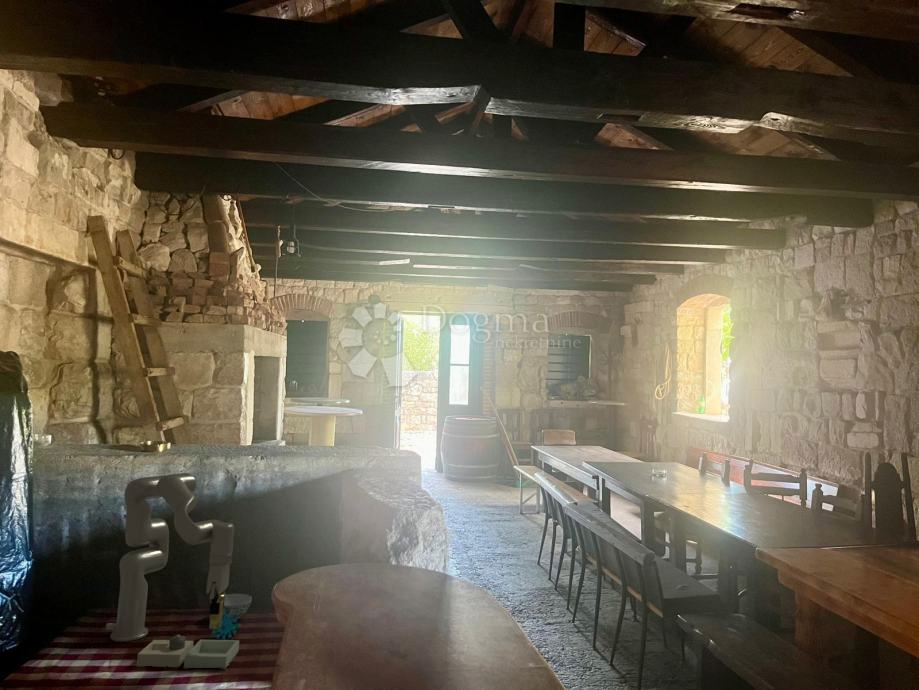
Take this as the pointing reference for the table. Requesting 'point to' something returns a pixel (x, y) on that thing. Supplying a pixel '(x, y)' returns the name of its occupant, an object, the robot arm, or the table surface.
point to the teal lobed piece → (227, 627)
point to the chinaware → (236, 605)
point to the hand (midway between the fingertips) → (216, 611)
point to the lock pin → (217, 619)
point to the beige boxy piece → (165, 652)
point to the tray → (211, 654)
